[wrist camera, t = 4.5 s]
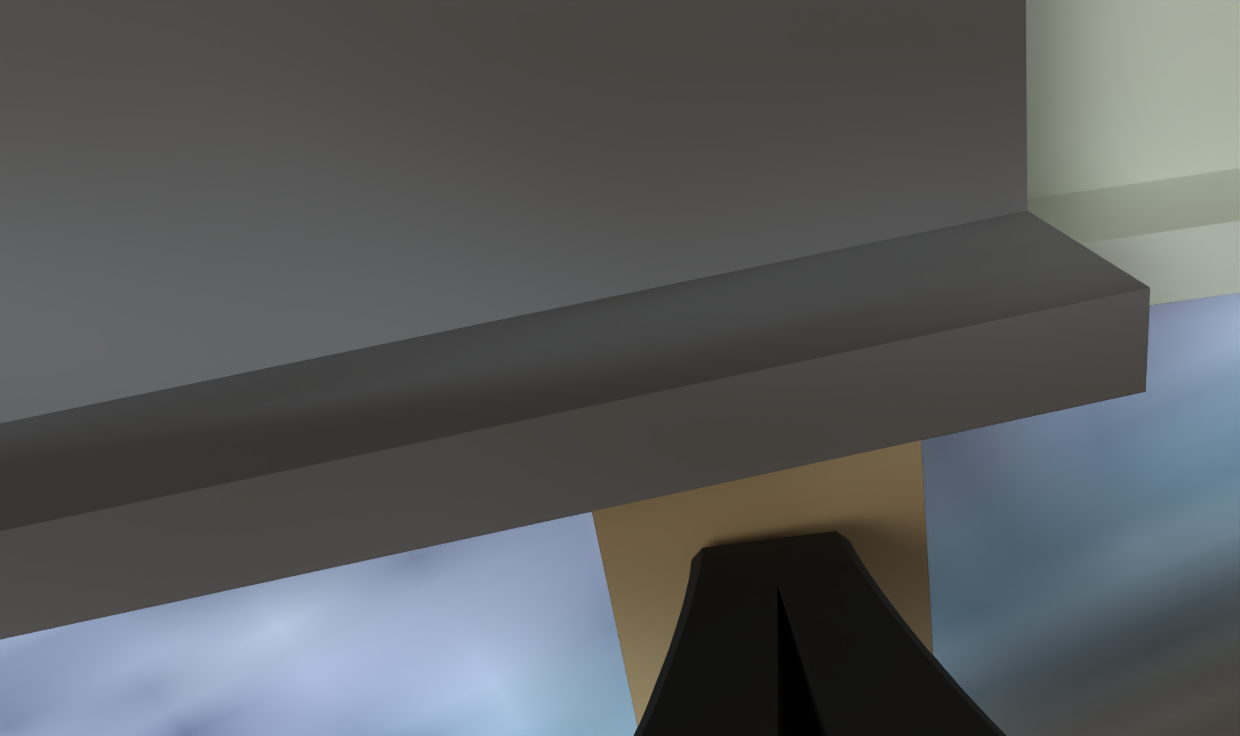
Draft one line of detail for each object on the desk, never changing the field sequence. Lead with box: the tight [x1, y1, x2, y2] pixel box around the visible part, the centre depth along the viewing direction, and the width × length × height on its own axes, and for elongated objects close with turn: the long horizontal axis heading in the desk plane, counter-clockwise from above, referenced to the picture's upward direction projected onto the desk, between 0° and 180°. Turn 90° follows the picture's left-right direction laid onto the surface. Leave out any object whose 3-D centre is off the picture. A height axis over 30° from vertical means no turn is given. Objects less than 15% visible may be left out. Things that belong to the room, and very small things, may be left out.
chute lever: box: [0, 0, 1150, 726], centre depth 8 cm, size 12×14×3 cm
